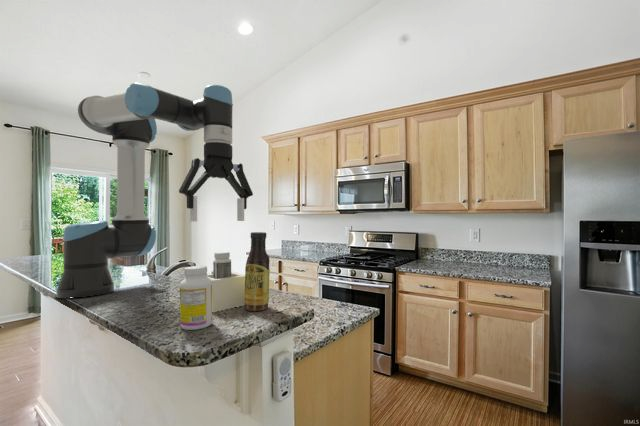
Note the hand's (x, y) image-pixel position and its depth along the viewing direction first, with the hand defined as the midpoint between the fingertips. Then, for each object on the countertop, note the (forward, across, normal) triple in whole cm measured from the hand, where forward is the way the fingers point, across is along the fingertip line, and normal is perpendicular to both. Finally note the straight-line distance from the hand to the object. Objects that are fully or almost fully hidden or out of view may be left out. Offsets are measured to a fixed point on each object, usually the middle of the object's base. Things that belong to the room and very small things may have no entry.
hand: (218, 221), depth 88 cm
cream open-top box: (+23, +1, -1) cm, 23 cm away
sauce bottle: (+23, +5, -11) cm, 26 cm away
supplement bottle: (+23, -11, -13) cm, 29 cm away
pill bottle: (+17, +1, -1) cm, 17 cm away
